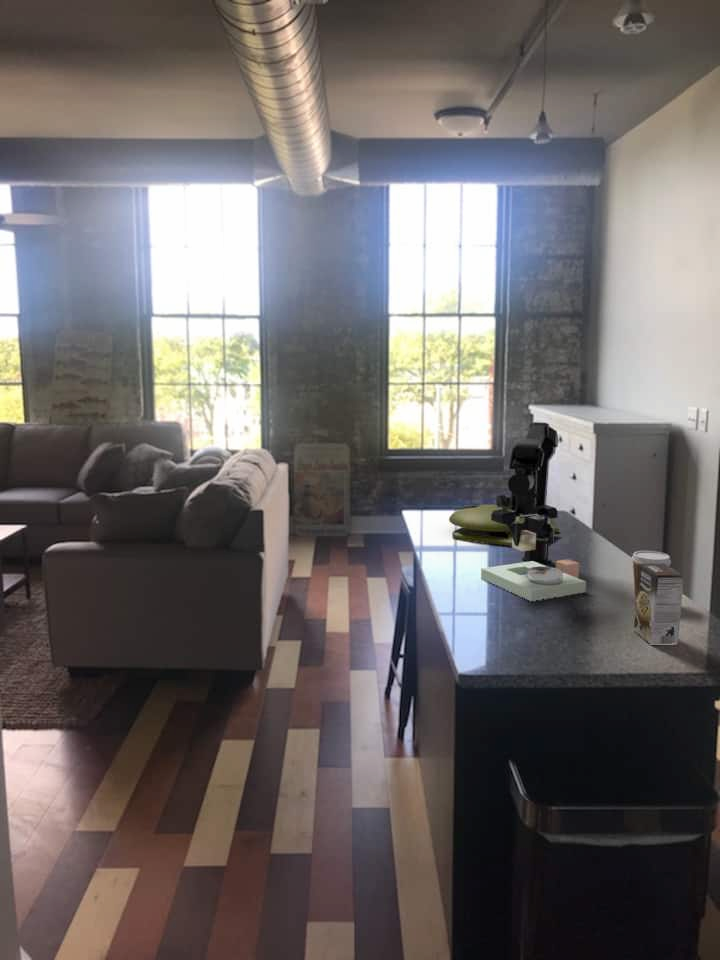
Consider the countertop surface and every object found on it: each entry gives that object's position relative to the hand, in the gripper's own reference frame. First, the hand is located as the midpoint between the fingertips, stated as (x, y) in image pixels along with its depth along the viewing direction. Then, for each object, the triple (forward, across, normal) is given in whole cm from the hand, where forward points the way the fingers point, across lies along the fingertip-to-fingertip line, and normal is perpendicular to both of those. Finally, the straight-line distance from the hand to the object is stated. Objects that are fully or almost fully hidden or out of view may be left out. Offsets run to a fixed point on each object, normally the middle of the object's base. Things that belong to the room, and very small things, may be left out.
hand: (523, 544), depth 209 cm
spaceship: (+11, -28, -48) cm, 57 cm away
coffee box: (+10, 0, +47) cm, 48 cm away
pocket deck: (+10, 0, +4) cm, 11 cm away
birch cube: (+1, 0, 0) cm, 1 cm away
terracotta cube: (+10, -14, +2) cm, 18 cm away
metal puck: (+7, 0, +10) cm, 12 cm away
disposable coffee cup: (+11, -19, +27) cm, 35 cm away
